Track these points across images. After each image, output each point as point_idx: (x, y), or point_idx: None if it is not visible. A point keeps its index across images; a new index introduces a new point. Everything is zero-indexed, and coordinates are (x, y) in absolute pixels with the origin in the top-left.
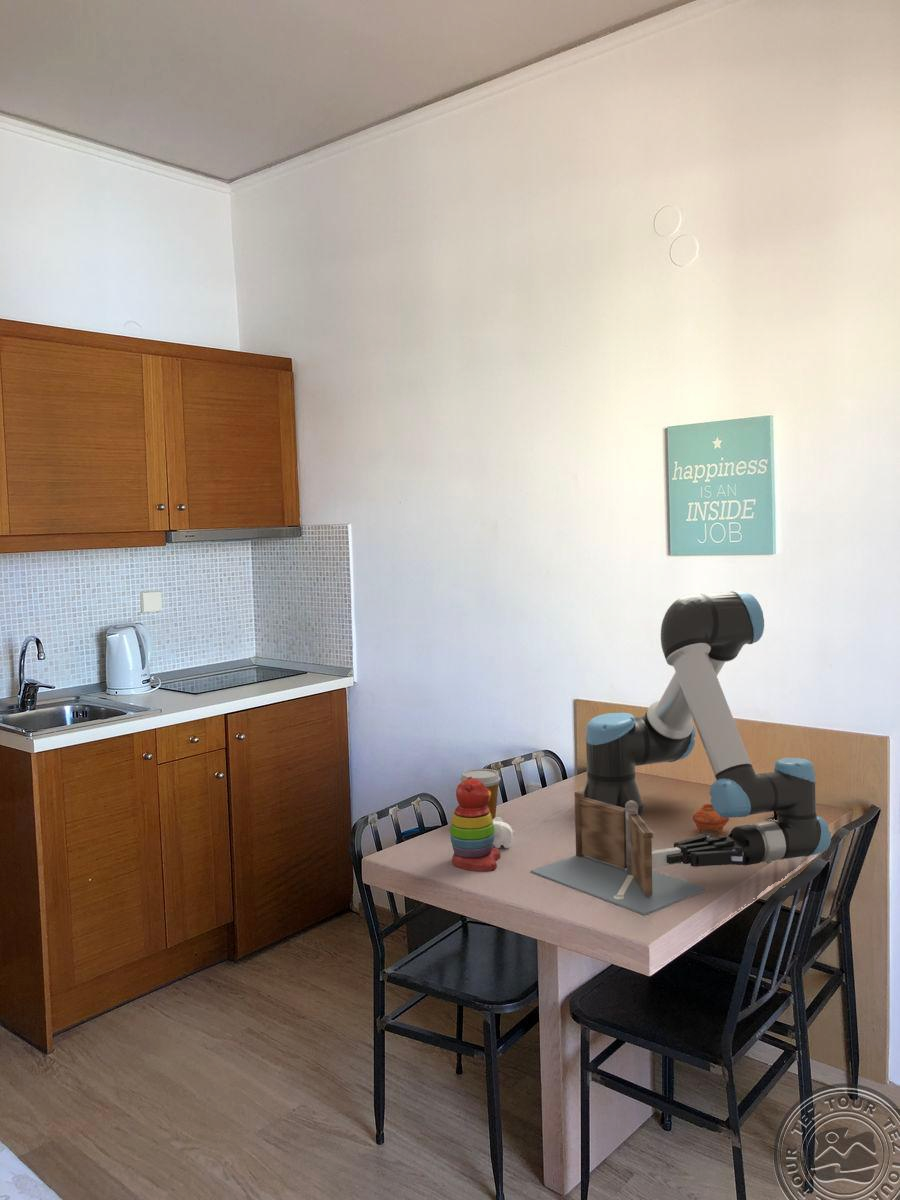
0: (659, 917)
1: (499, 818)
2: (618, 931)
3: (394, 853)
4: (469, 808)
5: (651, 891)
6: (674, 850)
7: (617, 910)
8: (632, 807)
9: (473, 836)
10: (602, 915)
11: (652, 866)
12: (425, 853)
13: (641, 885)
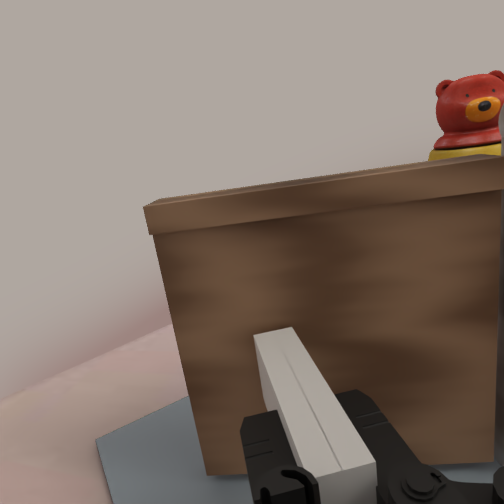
0: (52, 483)
1: None
2: (56, 384)
3: None
4: (444, 133)
5: (205, 458)
6: (289, 431)
7: (170, 390)
8: (502, 112)
9: None
10: (157, 365)
11: (264, 398)
12: None
13: None
